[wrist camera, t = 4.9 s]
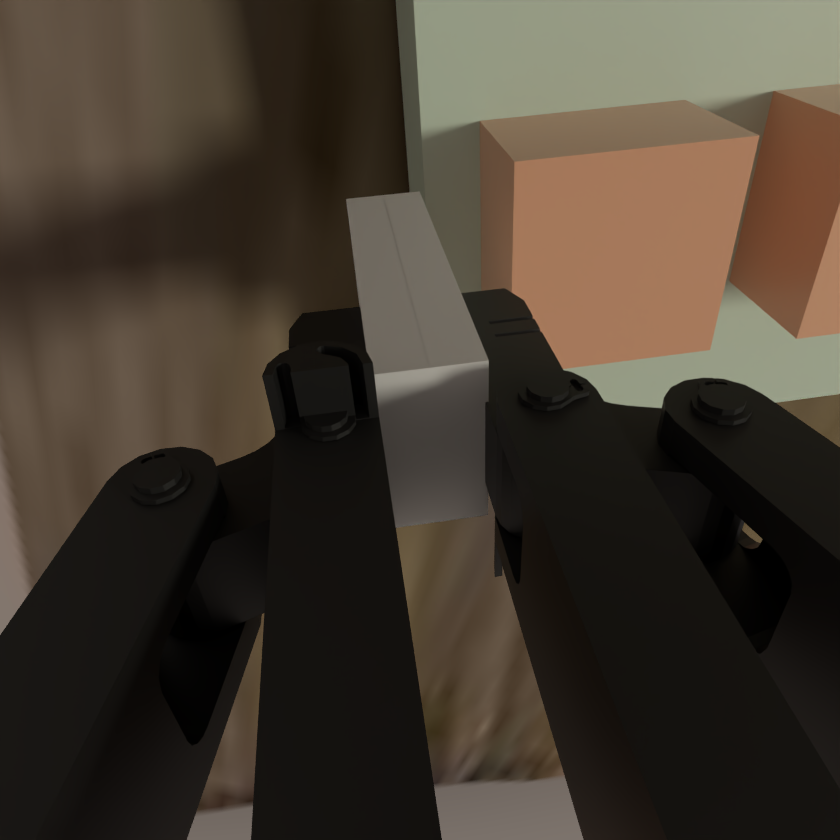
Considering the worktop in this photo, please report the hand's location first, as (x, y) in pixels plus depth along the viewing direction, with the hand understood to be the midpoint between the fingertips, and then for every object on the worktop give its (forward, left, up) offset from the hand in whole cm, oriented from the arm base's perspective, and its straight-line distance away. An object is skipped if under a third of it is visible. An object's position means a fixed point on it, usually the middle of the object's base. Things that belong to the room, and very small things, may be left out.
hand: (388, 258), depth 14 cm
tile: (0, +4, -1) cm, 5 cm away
